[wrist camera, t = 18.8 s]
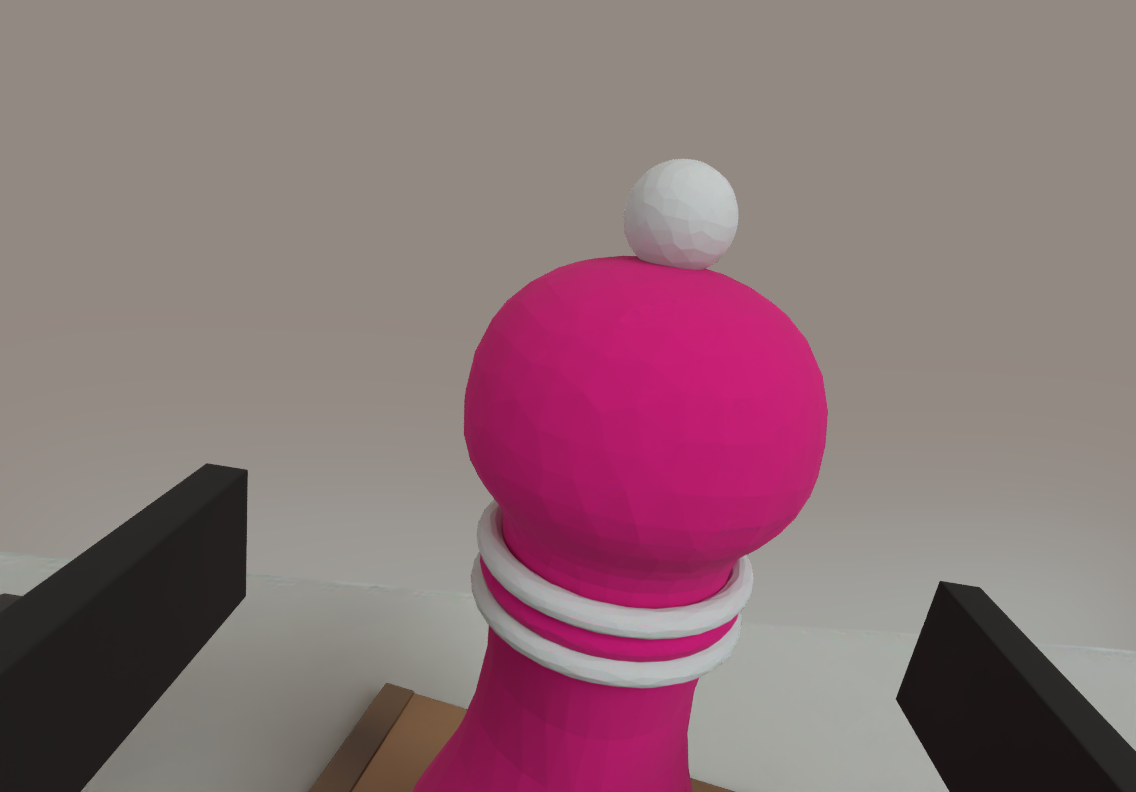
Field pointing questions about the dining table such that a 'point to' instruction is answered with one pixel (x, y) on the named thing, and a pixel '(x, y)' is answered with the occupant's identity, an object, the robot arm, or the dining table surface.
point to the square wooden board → (400, 745)
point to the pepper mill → (625, 496)
